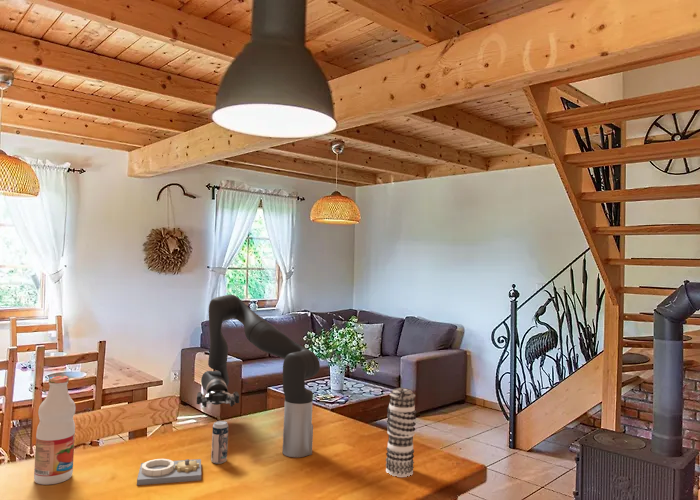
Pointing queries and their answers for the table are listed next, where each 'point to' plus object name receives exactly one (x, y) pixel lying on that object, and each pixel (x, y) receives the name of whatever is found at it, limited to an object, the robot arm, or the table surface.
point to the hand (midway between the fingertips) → (218, 403)
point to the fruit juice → (55, 435)
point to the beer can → (219, 442)
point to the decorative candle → (400, 432)
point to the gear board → (171, 475)
